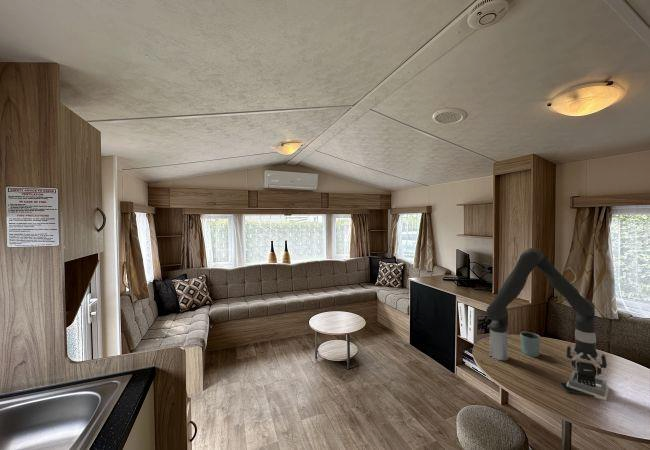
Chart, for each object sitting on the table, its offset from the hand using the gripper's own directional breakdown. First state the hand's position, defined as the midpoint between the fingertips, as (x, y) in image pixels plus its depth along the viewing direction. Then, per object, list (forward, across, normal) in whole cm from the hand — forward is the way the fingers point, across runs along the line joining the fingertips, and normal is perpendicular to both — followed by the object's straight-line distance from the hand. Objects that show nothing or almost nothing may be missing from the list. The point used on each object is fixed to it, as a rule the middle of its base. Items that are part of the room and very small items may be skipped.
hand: (586, 370), depth 133 cm
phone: (+9, -1, -6) cm, 11 cm away
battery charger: (+8, 0, 0) cm, 8 cm away
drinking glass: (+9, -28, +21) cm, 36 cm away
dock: (+9, 0, 0) cm, 9 cm away
